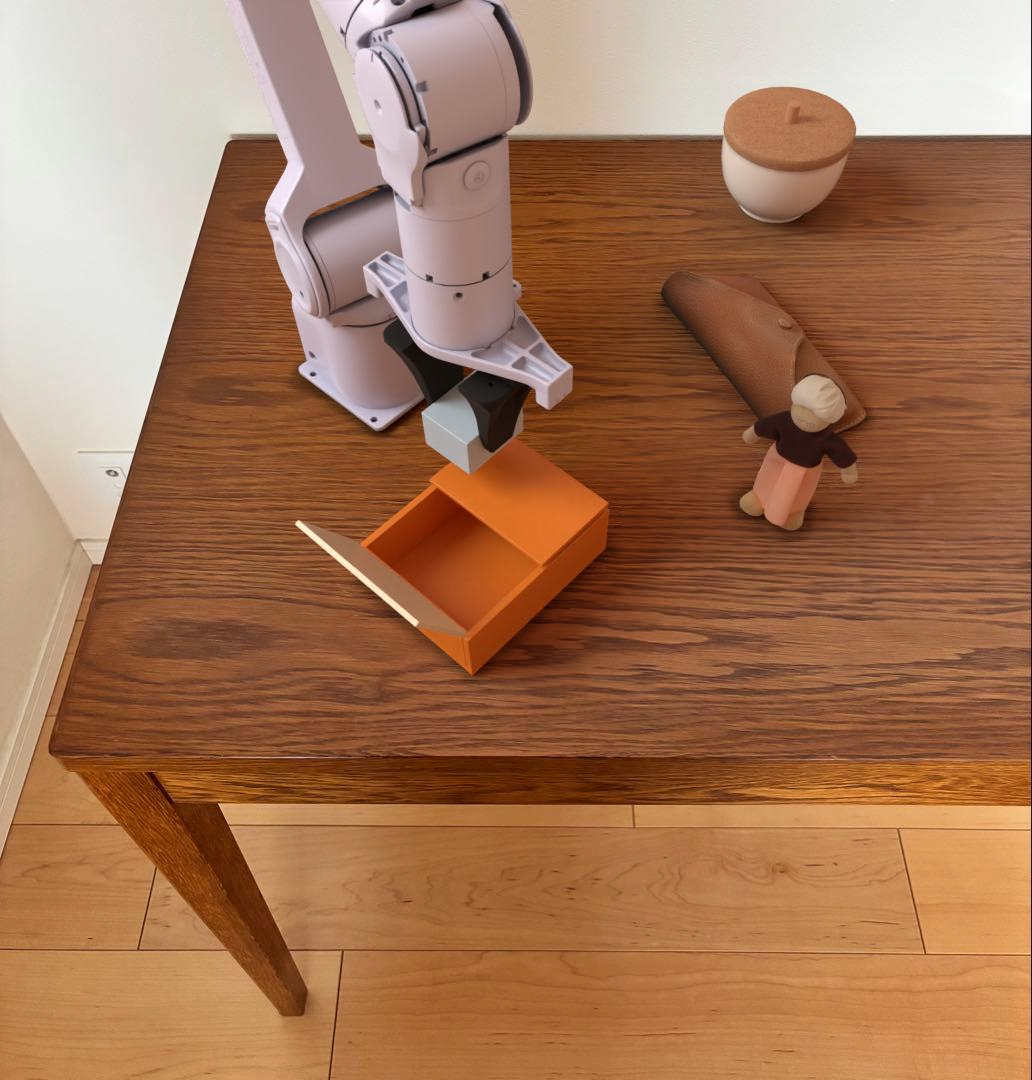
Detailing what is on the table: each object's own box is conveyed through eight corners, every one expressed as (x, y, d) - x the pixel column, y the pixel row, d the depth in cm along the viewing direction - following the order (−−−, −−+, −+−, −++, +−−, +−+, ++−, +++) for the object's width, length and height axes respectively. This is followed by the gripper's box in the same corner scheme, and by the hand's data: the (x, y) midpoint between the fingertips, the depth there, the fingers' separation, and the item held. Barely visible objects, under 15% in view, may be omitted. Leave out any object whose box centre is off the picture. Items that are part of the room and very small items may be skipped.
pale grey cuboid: (470, 475, 62) (467, 444, 59) (425, 443, 63) (420, 412, 61) (523, 430, 64) (522, 398, 61) (479, 400, 65) (476, 368, 63)
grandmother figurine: (719, 517, 68) (752, 391, 58) (732, 476, 70) (765, 347, 60) (831, 548, 67) (885, 423, 56) (841, 505, 69) (894, 377, 58)
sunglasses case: (878, 415, 72) (860, 374, 67) (798, 473, 74) (774, 438, 69) (746, 269, 82) (721, 223, 76) (678, 323, 84) (648, 283, 78)
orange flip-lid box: (472, 675, 62) (467, 635, 57) (365, 585, 66) (353, 540, 61) (606, 548, 67) (610, 502, 63) (499, 471, 71) (496, 423, 67)
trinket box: (713, 161, 91) (729, 63, 83) (831, 169, 90) (858, 70, 82) (710, 236, 85) (726, 138, 77) (836, 245, 84) (866, 146, 76)
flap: (468, 633, 57) (464, 638, 57) (355, 540, 61) (352, 544, 61) (419, 621, 52) (415, 627, 52) (298, 519, 56) (294, 524, 56)
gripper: (614, 271, 50) (601, 445, 61) (415, 160, 56) (437, 337, 67) (520, 345, 47) (525, 513, 58) (321, 220, 53) (360, 395, 64)
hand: (473, 424), depth 62 cm, fingers closed on pale grey cuboid, 4 cm apart
